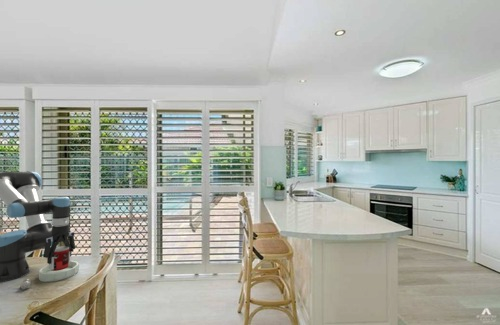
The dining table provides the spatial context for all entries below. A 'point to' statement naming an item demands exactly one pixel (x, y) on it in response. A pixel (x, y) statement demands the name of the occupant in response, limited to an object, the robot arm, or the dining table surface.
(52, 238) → the robot arm
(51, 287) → the dining table surface
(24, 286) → the pebble
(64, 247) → the canned food
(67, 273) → the bowl
